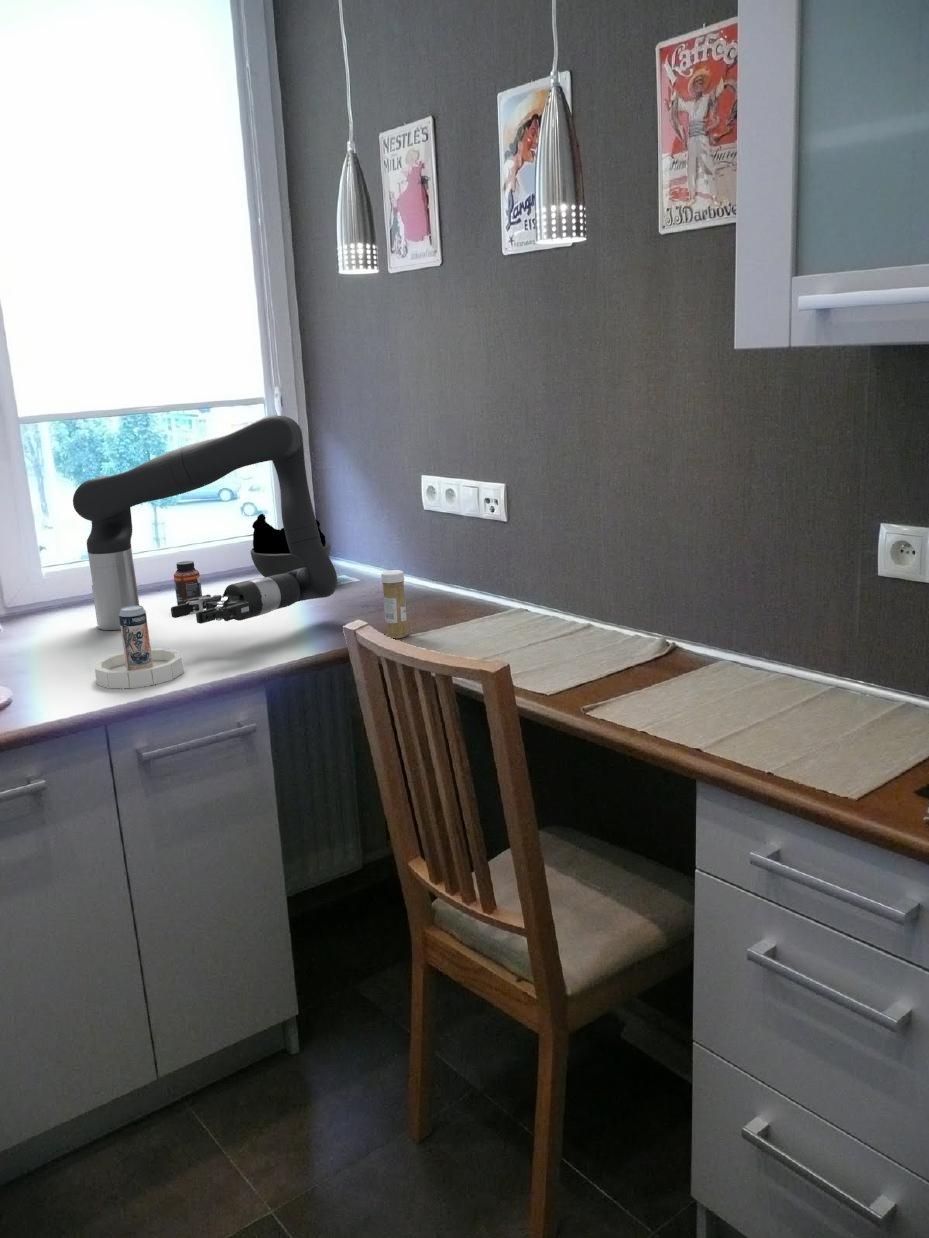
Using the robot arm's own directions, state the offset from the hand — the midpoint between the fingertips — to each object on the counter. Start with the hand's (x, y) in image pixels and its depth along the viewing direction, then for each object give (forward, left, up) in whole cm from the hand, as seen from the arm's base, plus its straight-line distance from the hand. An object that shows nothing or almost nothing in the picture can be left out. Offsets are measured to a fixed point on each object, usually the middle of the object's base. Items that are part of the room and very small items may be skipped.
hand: (184, 615), depth 199 cm
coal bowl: (-35, +55, -9) cm, 66 cm away
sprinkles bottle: (+23, +34, -9) cm, 42 cm away
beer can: (0, -11, -8) cm, 14 cm away
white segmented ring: (0, -11, -9) cm, 14 cm away
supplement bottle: (-38, +26, -9) cm, 47 cm away
